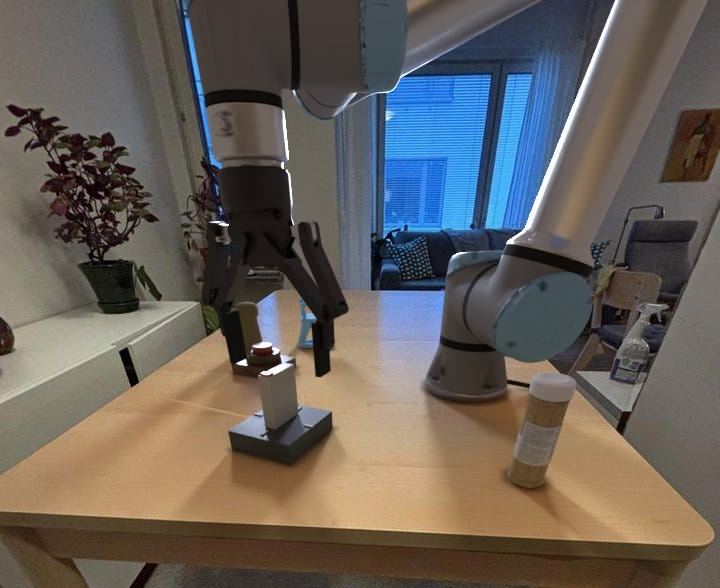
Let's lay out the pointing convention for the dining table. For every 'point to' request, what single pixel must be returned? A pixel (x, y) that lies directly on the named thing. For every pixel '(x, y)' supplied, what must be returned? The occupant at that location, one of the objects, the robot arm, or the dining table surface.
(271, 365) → the button block
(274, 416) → the handle
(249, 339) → the cork
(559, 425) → the sprinkles bottle
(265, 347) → the button
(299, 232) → the robot arm
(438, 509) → the dining table surface
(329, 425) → the panel
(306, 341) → the chair
